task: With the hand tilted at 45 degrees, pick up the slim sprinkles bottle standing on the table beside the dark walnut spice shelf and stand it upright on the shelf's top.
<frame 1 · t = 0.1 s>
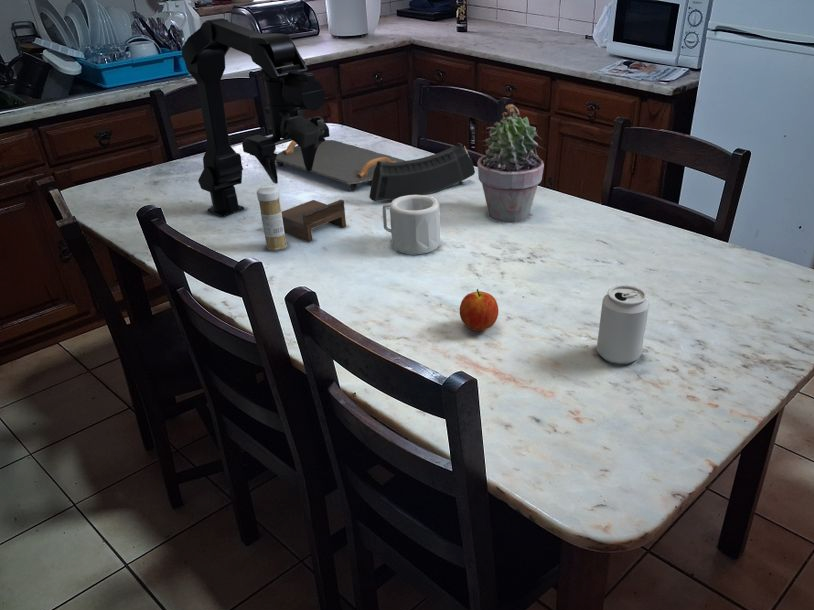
hand: (292, 177, 151), 15 cm above the table, tool pointing down, fingers open, 9 cm apart
spice shelf: (312, 228, 164), on the table
mug: (410, 244, 157), on the table
potted plant: (509, 217, 171), on the table
sprinkles bottle: (276, 248, 156), on the table
serving tray: (340, 169, 200), on the table
magazine: (424, 193, 184), on the table
can: (618, 355, 120), on the table
fruit: (478, 328, 127), on the table
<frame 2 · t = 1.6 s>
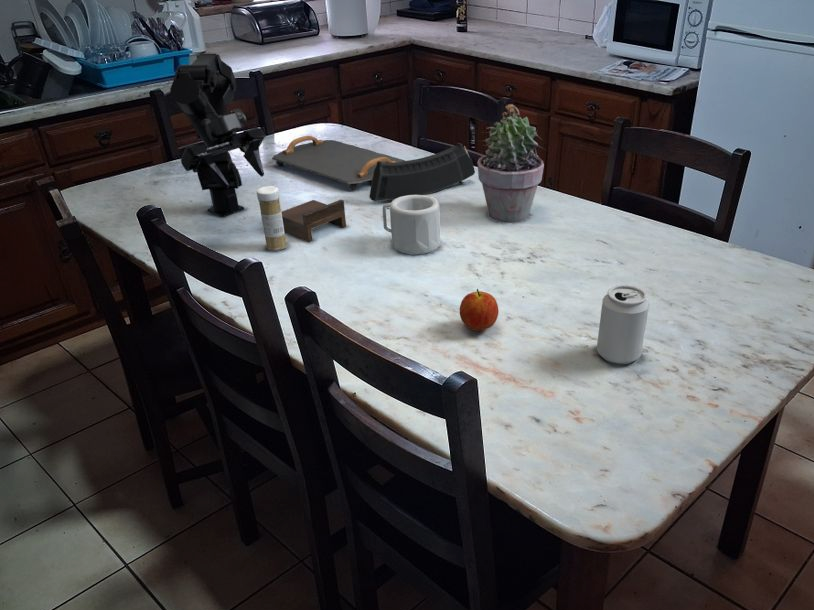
hand: (245, 181, 152), 13 cm above the table, tool tilted 45°, fingers open, 9 cm apart
nothing on the table moved.
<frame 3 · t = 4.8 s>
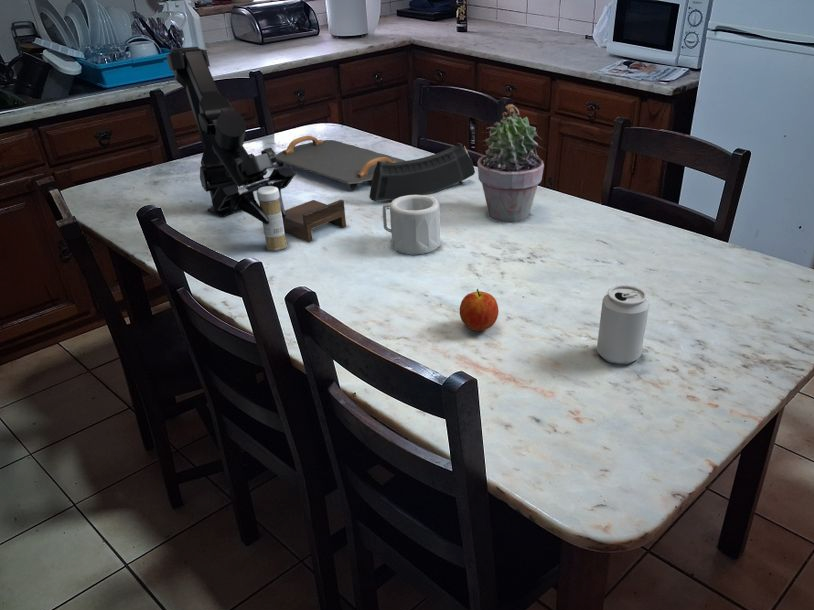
hand: (276, 220, 151), 7 cm above the table, tool tilted 45°, fingers closed on sprinkles bottle, 4 cm apart
sprinkles bottle: (276, 248, 156), on the table, touching gripper
everything else where it was.
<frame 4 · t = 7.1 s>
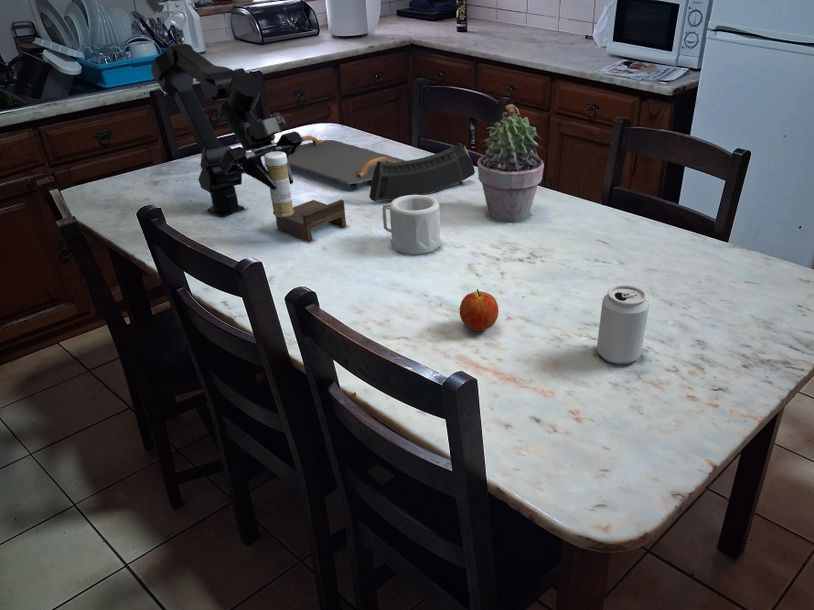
hand: (283, 185, 151), 13 cm above the table, tool tilted 45°, fingers closed on sprinkles bottle, 4 cm apart
sprinkles bottle: (283, 214, 155), point 6 cm above the table, touching gripper
everything else where it was.
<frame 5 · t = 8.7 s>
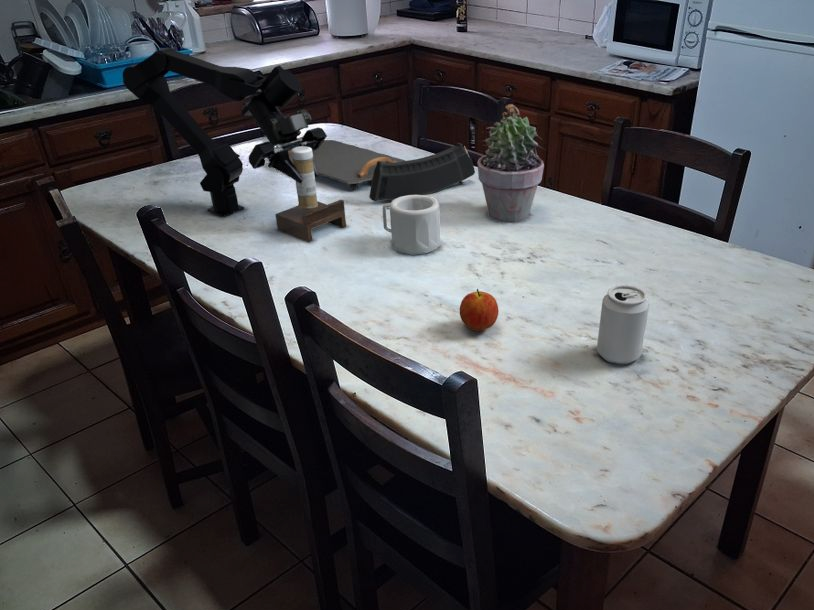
hand: (309, 179, 157), 12 cm above the table, tool tilted 45°, fingers closed on sprinkles bottle, 4 cm apart
sprinkles bottle: (308, 207, 162), point 5 cm above the table, touching gripper
everything else where it was.
when the fingers open (11 cm above the table, at t = 9.5 s): sprinkles bottle stays where it is, resting on spice shelf.
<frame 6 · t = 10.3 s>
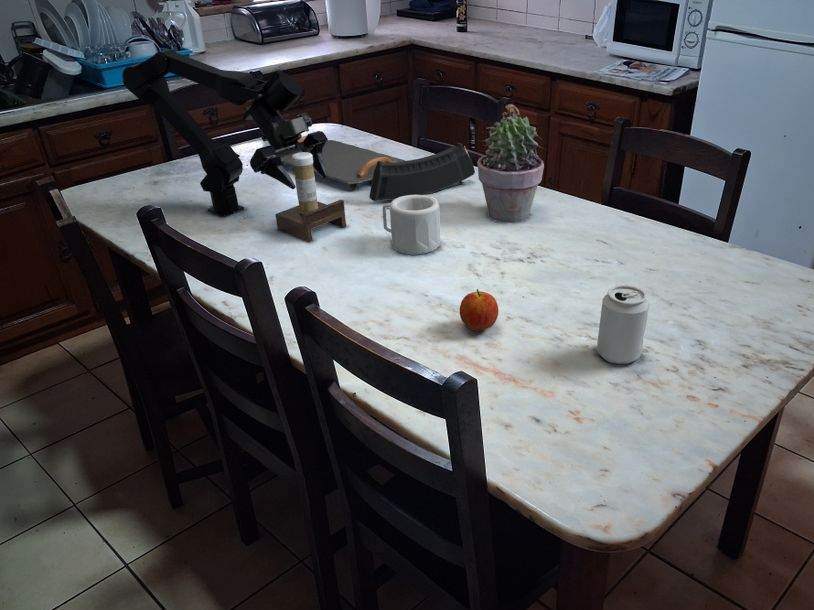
hand: (310, 182, 158), 11 cm above the table, tool tilted 45°, fingers open, 9 cm apart
sprinkles bottle: (309, 212, 162), point 4 cm above the table, touching spice shelf
everything else where it was.
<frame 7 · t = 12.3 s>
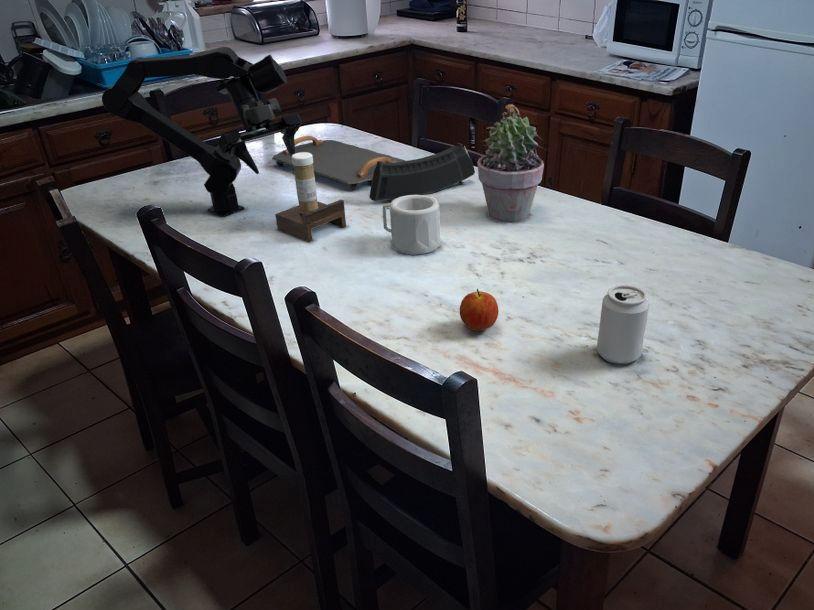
hand: (276, 167, 160), 13 cm above the table, tool tilted 35°, fingers open, 9 cm apart
nothing on the table moved.
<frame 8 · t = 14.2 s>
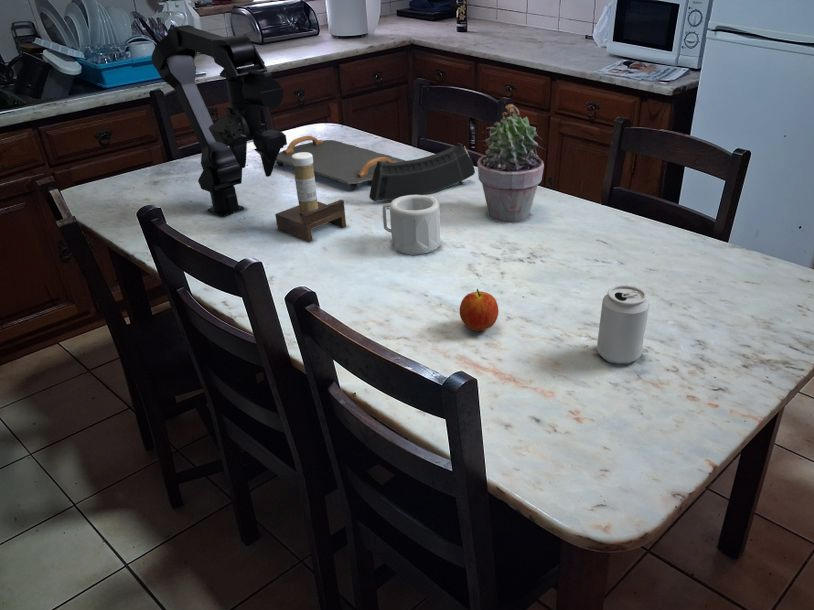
hand: (255, 172, 159), 13 cm above the table, tool pointing down, fingers open, 9 cm apart
nothing on the table moved.
at the end: sprinkles bottle inside the target area on the spice shelf (0.2 cm from its centre), point 3.8 cm above the spice shelf's base; sprinkles bottle tilted 0°; the gripper is holding nothing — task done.
